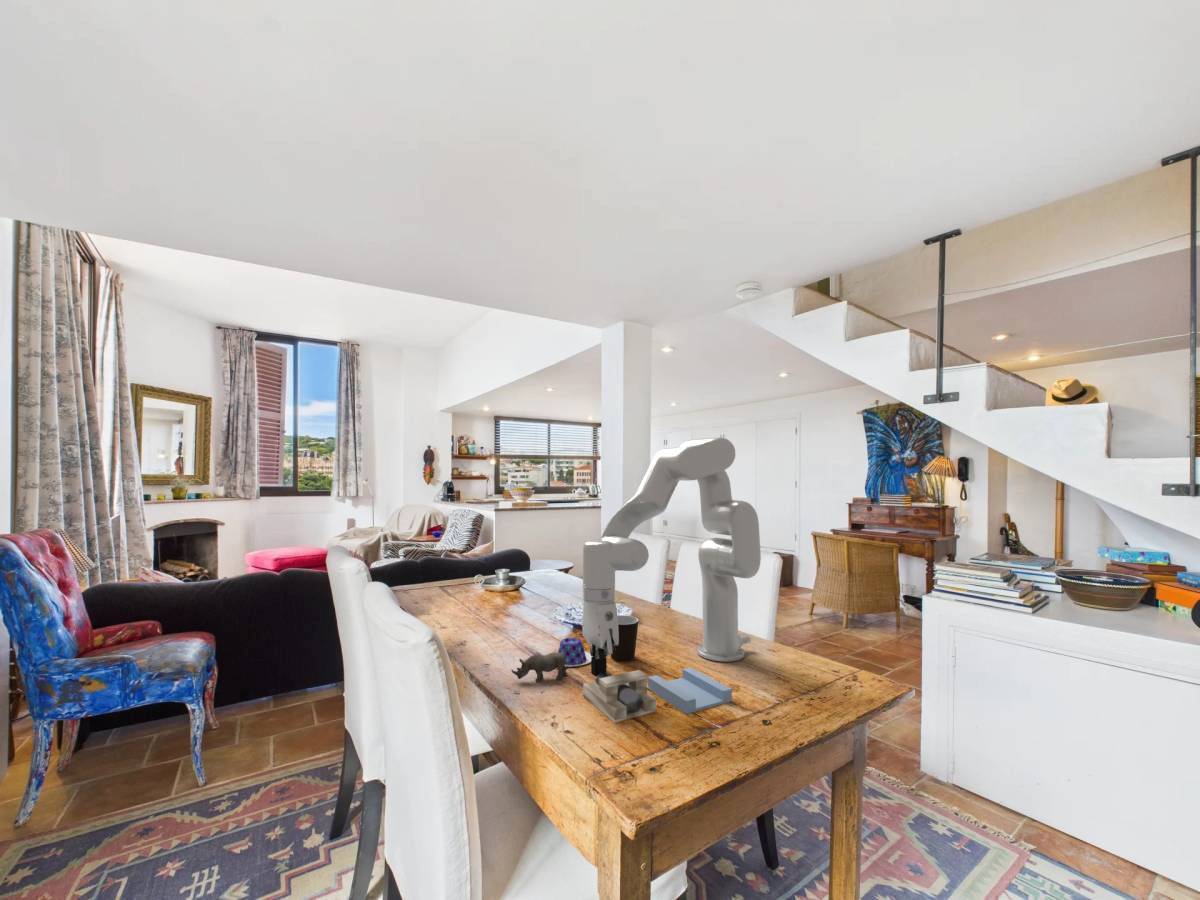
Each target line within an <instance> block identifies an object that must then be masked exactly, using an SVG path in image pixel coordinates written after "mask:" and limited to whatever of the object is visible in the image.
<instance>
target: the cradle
mask: <svg viewBox="0 0 1200 900" xmlns="http://www.w3.org/2000/svg"><path fill="white" fill-rule="evenodd" d="M681 673H682V677H681V678H676V679H671V680H665V679H664V678H662V677H661V676H660V675H657V674H656V675H652V676H647V690H649V691H651V692H652V693H653V694H655V695H657V697H660V698H661V699H663V700H664V701H665V702H667V703H669V704H670V705H672V706H673V707H675V708H676V709H678V710H680V711H681V712H682V713H683V714H685V715H689V714H692V713H695V712H696V713H697V712H699V711H702V710H706V709H709V708H713V707H716V706H719V705H724V704H727V703H730V702H732V701H733V689H732V688H731V687H729V686H727V685H725V684H723V683H721V682H719V681H717V680H716V679H714V678H712V677H710V676H708V675H707V674H704V673H703V672H700V671H698V670H696V669H694V668H693V667H691V666H689V667H686V668H683V669H682V672H681Z"/></svg>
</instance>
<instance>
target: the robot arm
mask: <svg viewBox="0 0 1200 900" xmlns="http://www.w3.org/2000/svg"><path fill="white" fill-rule="evenodd" d="M735 459H736V448H735V446H734V444H733V443H732V441H731V440H729V439H728V438H726V437H720V436H719V437H707V438H694V439H689V440H686V441H683V442H682V443H681V444H680V445H679V446H678V447H667V448H663V449H660V450H658V451H657V452H656V454H655V455H654V457H653V459H652V460H651V462H650V464H649V466H648V468H647V470H646V471H645V472H646V473H644V474H645V475H644V476H643V478H642V480H641V482H640V485H639V486H638V488H637V490H636V492H635V493H634V495H633V496H632V497H631V498H630V499H629V500H628V501H626V502H625V504H624V505H622V506H621V507H620V508H619V509H618V510H617V511H616V512H615V513H614V514H613V515H612V516H611V518H610V520H609V521H608V523H607V524H606V526H605V528H604V531H603V532H602V534H601V536H600V538H599V539H593V540H587V541H586V542H585V543H583V546H582V547H583V548H582V601H583V605H582V606H583V607H582V620H581V621H582V626H581V627H582V628H581V629H582V637H583V638H584V639H585V640H586V643H587V644H588V645H589V650H590V651H589V653H590V655H591V656H593V657H591V662H590V663H591V664H590V674H591V675H592V676H594V677H595V678H596V677H597V675H598V674H599V673H600V672H602V671H607V668H608V667H607V665H608V664H607V663H608V662H607V658H608V656H609V655H610V656H611V654H612V653H613V652H612V645H614V646H617V645H618V644H619V631H618V609H617V604H616V572H617V571H624V572H627V571H628V572H634V571H638V570H640V569H643V567H645V565H646V564H647V563H648V560H649V554H650V553H649V550H648V547H647V546H646V544H645V543H643V542H642V541H641V540H638V539H635V538H630V536H631V534H632V532H633V531H635V529H636V528H637V527H639V526H640V525H642V524H643V523H644V522H646V521H648V520H651V519H652V518H655V517H657V516H659V515H661V514H662V513H664V512H665V510H666V509H667V507H668V505H669V503H670V501H671V498H672V495H673V494H674V492H675V490H676V487H677V486H678V484H679V482H680V481H697V483H698V487H699V498H700V513H701V514H700V515H701V522H702V526H703V528H704V529H705V530H706V531H707V532H709V533H712V534H718V535H724V536H730V538H731V539H729V538H722V537H712V538H711V537H709V538H708V539H706V540H704V541H703V542H702V543H701V544H700V546H699V549H698V562H699V568H700V572H701V584H702V587H701V588H702V643H701V644H699V645H698V646H697V651H696V652H697V653H698V655H699V656H700V657H702V658H704V659H706V660H711V661H715V662H725V663H726V662H727V663H729V662H737V661H740V660H742V659H743V658H744V657H745V650H744V649H743V648H742V646H743V645H745V644H746V645H747V644H750V643H751V641H752V639H751V637H750V636H749V635H745V636H741V635H739V604H738V603H739V599H738V598H739V594H738V593H739V592H738V586H737V585H738V584H737V582H736V580H735V578H739V579H750V578H753V577H755V576H756V574H758V572H759V570H760V566H761V560H762V558H761V557H762V556H761V537H760V525H759V516H758V514H757V512H756V509H755V508H754V507H753V505H751V503H749V502H747V501H743V500H737V499H733V496H732V489H731V481H730V478H729V475H728V473H727V472H726V470H728V469H729V468H730V467H731V466H732V465H733V463H734V461H735ZM607 672H608V671H607Z"/></svg>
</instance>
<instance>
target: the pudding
mask: <svg viewBox="0 0 1200 900" xmlns="http://www.w3.org/2000/svg"><path fill="white" fill-rule="evenodd" d="M583 643H584V642H583V641H582V640H581V639H580V638H577V637H566V638H563V639H561V640H560V643H559V646H558V651H556V652H555V653H558V652H561V653H562V654H564V655H565V658H566V663H565V666H566V667H579V666H583V665H584V666H585V665H587V664H590V663H591V657H593V656H591V655H590V652H588V651H585V648H584V644H583Z"/></svg>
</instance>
